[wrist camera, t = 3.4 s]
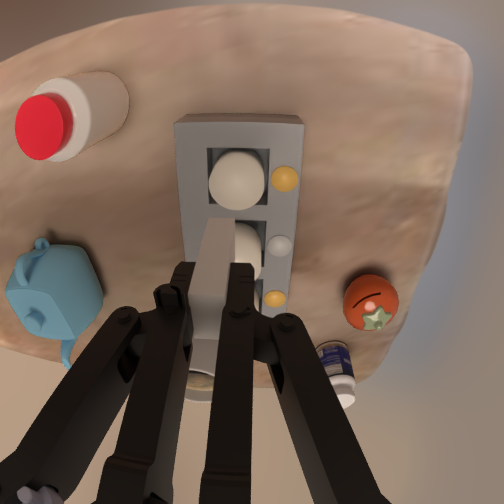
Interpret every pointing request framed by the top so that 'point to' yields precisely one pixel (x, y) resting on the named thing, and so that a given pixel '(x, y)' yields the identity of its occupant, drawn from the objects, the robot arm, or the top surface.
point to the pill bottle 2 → (338, 370)
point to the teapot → (55, 293)
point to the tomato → (370, 302)
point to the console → (270, 204)
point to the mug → (201, 370)
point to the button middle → (248, 246)
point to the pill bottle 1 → (71, 115)
